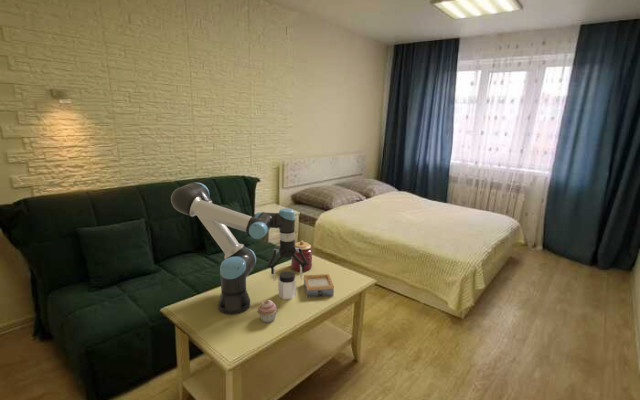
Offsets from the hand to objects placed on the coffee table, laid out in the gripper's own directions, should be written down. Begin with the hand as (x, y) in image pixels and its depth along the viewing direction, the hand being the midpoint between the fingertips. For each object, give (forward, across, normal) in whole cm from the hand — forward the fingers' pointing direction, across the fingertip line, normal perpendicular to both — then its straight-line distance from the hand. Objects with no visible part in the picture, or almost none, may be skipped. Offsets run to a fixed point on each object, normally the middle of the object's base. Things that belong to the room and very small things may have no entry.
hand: (287, 278), depth 170 cm
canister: (+10, +10, +33) cm, 36 cm away
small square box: (+10, +16, +4) cm, 20 cm away
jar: (+10, 0, 0) cm, 10 cm away
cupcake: (+10, -10, -20) cm, 25 cm away
